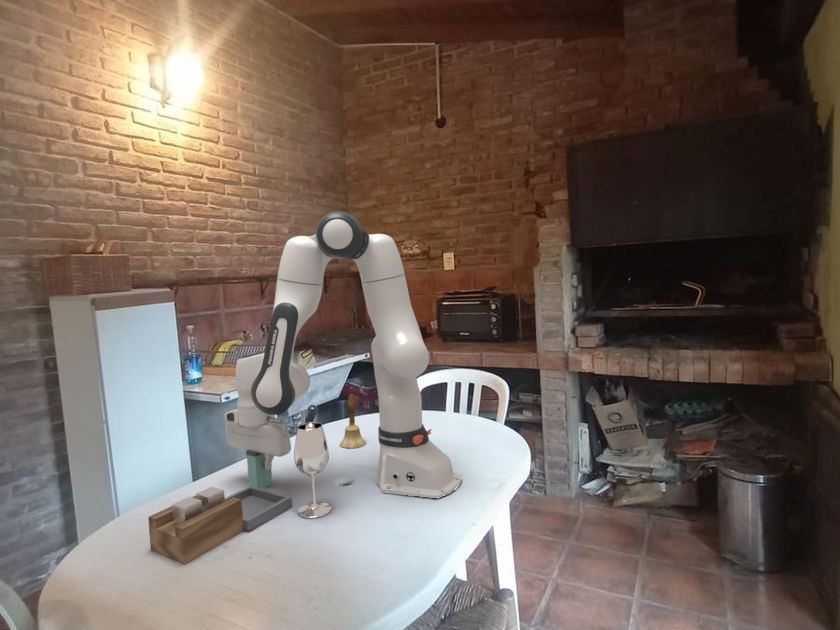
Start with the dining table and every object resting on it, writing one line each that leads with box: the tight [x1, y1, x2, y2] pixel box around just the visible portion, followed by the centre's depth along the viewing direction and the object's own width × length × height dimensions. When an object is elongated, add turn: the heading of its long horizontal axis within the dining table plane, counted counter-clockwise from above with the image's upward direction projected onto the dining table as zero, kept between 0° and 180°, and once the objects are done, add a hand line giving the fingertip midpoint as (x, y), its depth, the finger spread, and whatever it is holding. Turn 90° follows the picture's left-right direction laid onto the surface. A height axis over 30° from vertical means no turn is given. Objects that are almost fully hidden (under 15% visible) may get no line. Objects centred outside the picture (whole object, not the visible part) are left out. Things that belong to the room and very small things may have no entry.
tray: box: [225, 485, 293, 533], centre depth 118 cm, size 14×13×2 cm
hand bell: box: [339, 393, 367, 449], centre depth 162 cm, size 8×8×16 cm
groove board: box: [147, 495, 245, 565], centre depth 106 cm, size 11×14×7 cm
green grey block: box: [246, 450, 273, 489], centre depth 132 cm, size 5×3×10 cm, turn 150°
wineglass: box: [293, 422, 332, 519], centre depth 117 cm, size 8×8×20 cm
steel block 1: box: [171, 496, 203, 525], centre depth 104 cm, size 4×4×4 cm
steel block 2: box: [195, 486, 226, 512], centre depth 109 cm, size 4×4×4 cm
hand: (259, 467), depth 132 cm, fingers open, 4 cm apart
